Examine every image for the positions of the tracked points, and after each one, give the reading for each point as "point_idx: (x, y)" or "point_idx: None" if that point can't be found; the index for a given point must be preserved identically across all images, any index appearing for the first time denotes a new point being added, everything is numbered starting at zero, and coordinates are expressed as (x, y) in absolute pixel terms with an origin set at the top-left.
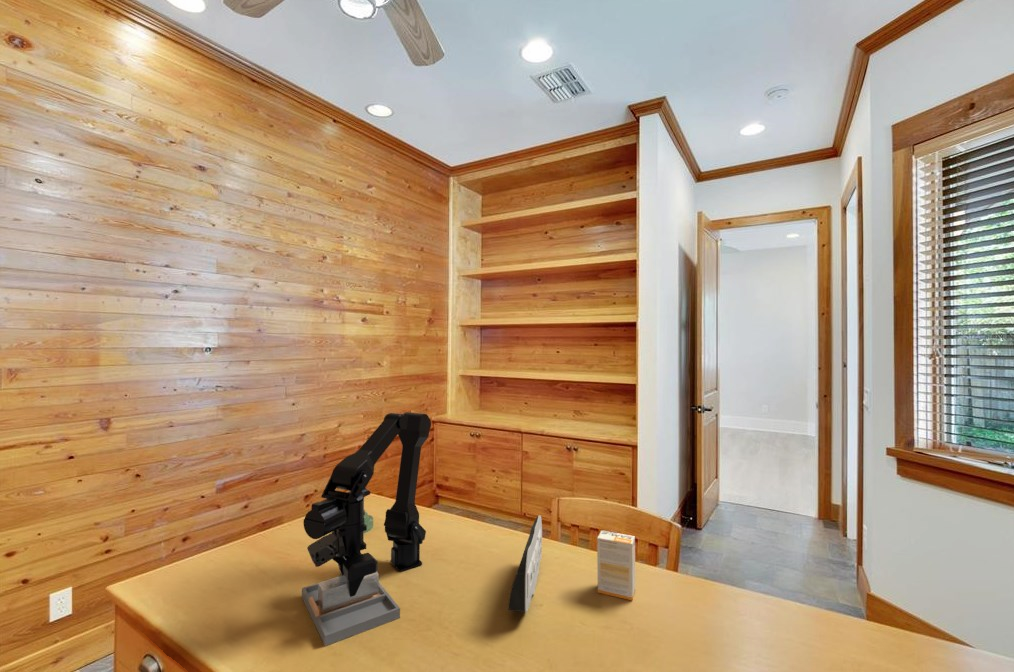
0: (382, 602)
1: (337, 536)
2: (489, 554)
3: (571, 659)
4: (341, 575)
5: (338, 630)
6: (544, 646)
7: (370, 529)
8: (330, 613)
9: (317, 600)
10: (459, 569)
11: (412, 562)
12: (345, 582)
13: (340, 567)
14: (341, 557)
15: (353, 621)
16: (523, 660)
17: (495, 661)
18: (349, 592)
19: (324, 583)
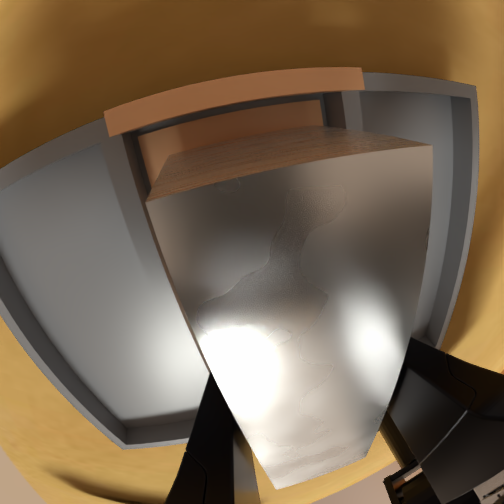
0: None
1: None
2: (316, 485)
3: (37, 488)
4: (411, 355)
5: None
6: (53, 489)
7: None
8: (125, 215)
9: (346, 127)
10: None
11: (379, 429)
12: (268, 416)
13: (453, 403)
14: (500, 462)
15: (89, 318)
16: (24, 473)
17: (13, 461)
18: (213, 381)
19: (381, 224)
